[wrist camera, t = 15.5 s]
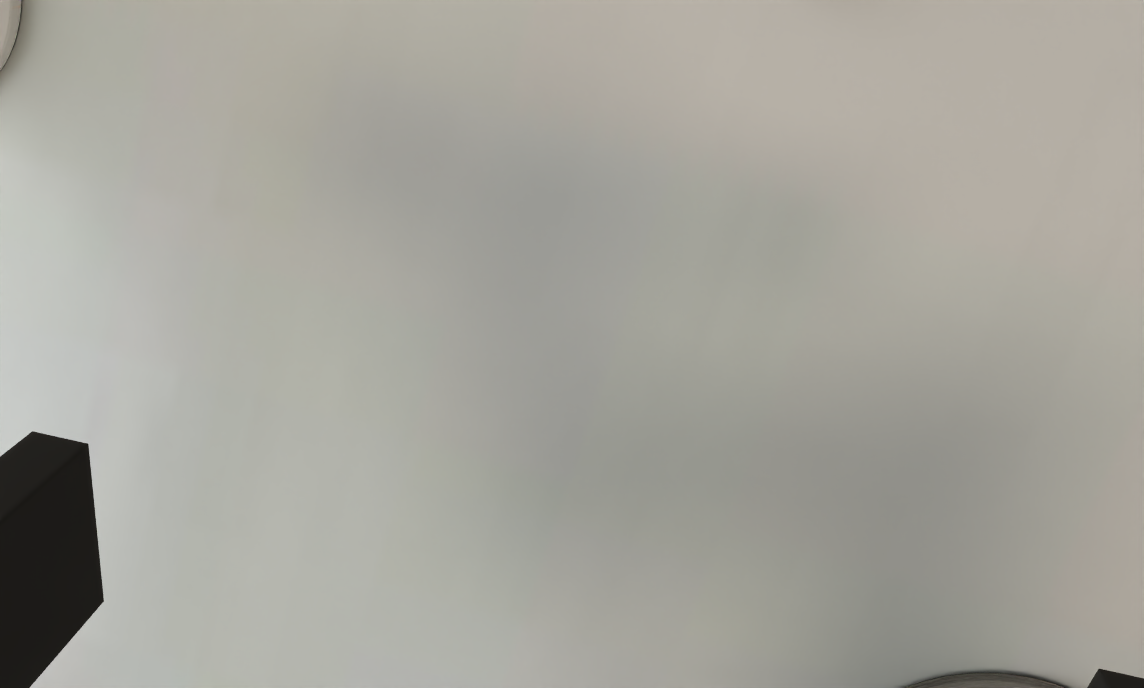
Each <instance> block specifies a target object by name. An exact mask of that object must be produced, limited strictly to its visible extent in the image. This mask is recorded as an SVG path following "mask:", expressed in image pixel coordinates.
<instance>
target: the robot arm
mask: <svg viewBox="0 0 1144 688" xmlns="http://www.w3.org/2000/svg"><path fill="white" fill-rule="evenodd" d="M103 601H104V599H103V589H102V579H101V568H100V558H99V548H98V538H97V528H96V518H95V508H94V498H93V488H92V478H91V467H90V457H89V447H88V444H86V443H82V442H77V441H73V440H68V439H64V438H59V437H55V436H50V435H46V434H41V433H37V432H31V433H30V434H29V435H27V436H26V437H25V438H23V439H22V440H21V441H20V442H18V443H17V444H16V445H15V446H13V447H12V448H11V449H10V450H8V451H7V452H6V453H4V454H3V455H2V456H1V457H0V688H30V686H31V685H32V684H33V683H34V682H35V681H36V679H37V678H38V677H39V676H40V675H41V674H42V672H43V671H44V670H45V669H46V668H47V667H48V665H49V664H50V663H51V662H52V661H53V660H54V658H55V657H56V656H57V655H58V654H59V653H60V651H61V650H62V649H63V648H64V647H65V646H66V645H67V643H68V642H69V641H70V640H71V639H72V638H73V636H74V635H75V634H76V633H77V632H78V631H79V629H80V628H81V627H82V626H83V625H84V624H85V622H86V621H87V620H88V619H89V618H90V617H91V615H92V614H93V613H94V612H95V611H96V610H97V608H98V607H99V606H100V605H101V604H102V603H103ZM906 688H1064V687H1061V686H1059V685H1056V684H1053V683H1050V682H1046V681H1043V680H1039V679H1034V678H1030V677H1025V676H1018V675H1010V674H997V673H973V674H960V675H953V676H946V677H940V678H936V679H931V680H927V681H924V682H920V683H917V684H914V685H911V686H908V687H906ZM1087 688H1144V679H1143V678H1139V677H1134V676H1130V675H1125V674H1121V673H1116V672H1112V671H1107V670H1103V669H1098V671H1097V673H1096V674H1095V676H1094V678H1093V679H1092V681H1091V683H1090V684H1089V686H1088V687H1087Z"/></svg>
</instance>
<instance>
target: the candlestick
mask: <svg viewBox="0 0 1144 688" xmlns="http://www.w3.org/2000/svg"><path fill="white" fill-rule="evenodd" d="M20 14H21V0H0V70H1V69H2V67H3V66H4V64H5V63H6V61H7V59H8V57H9V55H10V53H11V50H12V48H13V45H14V42H15V39H16V36H17V31H18V27H19V21H20Z"/></svg>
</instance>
